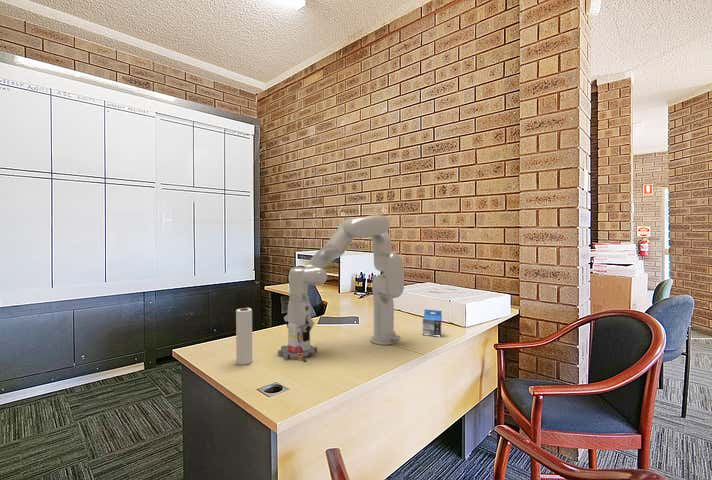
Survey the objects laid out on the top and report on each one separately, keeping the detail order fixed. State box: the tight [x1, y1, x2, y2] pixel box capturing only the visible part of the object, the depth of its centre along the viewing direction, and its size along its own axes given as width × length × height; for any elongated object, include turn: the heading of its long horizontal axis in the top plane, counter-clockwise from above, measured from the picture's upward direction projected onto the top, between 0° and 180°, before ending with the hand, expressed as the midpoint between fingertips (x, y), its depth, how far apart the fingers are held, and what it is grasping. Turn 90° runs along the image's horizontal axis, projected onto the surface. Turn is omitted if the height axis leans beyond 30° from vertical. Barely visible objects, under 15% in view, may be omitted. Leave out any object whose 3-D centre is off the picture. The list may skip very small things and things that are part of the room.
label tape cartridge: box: [422, 309, 443, 336], centre depth 179 cm, size 9×4×12 cm, turn 68°
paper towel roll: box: [235, 306, 253, 366], centre depth 142 cm, size 7×6×21 cm
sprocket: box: [277, 344, 318, 362], centre depth 152 cm, size 16×16×6 cm
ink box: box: [287, 323, 311, 354], centre depth 150 cm, size 9×5×12 cm, turn 139°
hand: (298, 338), depth 150 cm, fingers open, 8 cm apart
